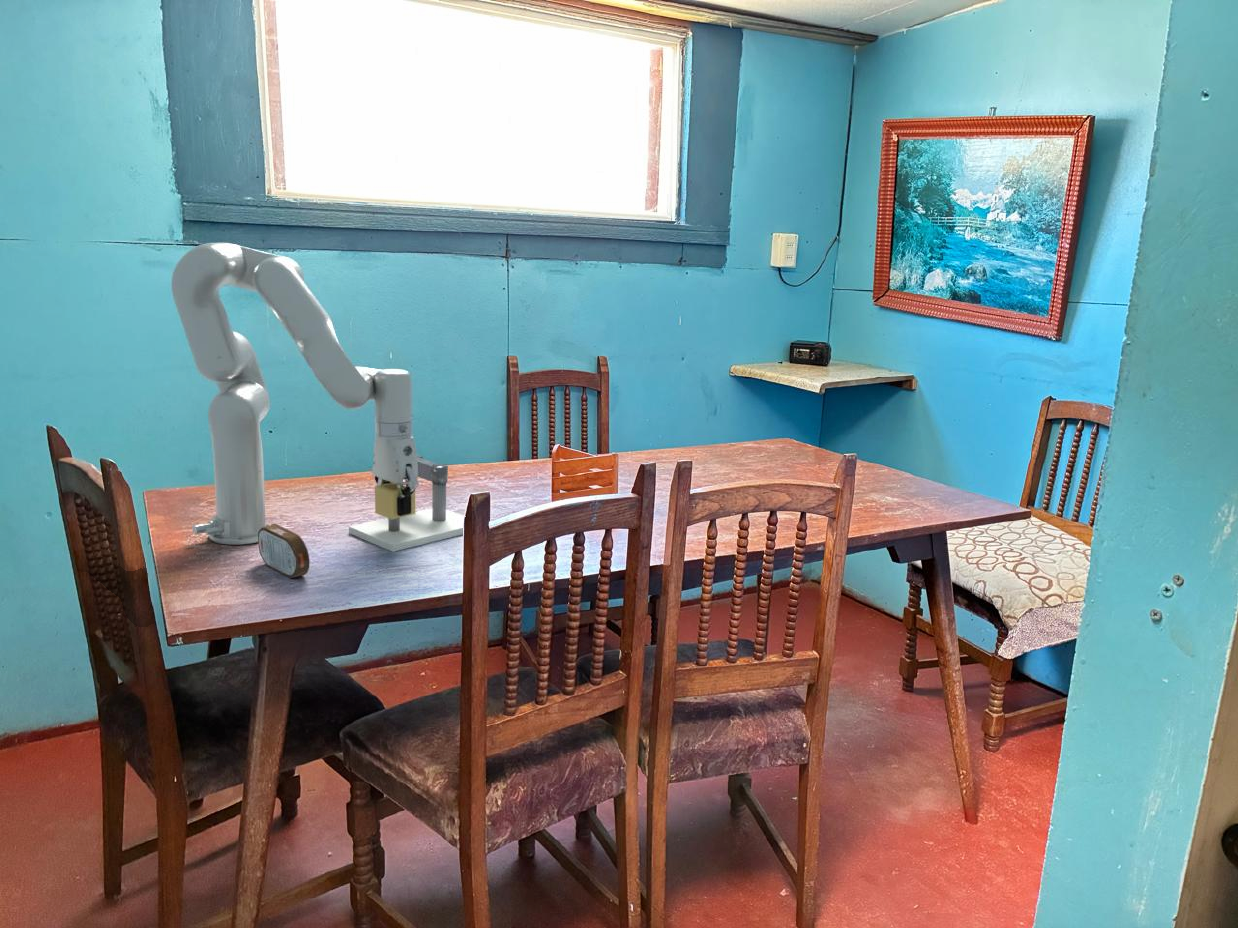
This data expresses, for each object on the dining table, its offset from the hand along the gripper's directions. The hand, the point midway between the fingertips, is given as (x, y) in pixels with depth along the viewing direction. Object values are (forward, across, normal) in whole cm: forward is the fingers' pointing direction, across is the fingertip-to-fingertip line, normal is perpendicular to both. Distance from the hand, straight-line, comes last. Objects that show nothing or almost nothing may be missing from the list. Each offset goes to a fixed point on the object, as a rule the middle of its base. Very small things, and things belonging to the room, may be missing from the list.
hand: (395, 510), depth 201 cm
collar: (+1, 0, 0) cm, 1 cm away
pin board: (+6, 0, -6) cm, 8 cm away
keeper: (-4, +6, -12) cm, 14 cm away
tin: (+6, -4, +28) cm, 29 cm away
